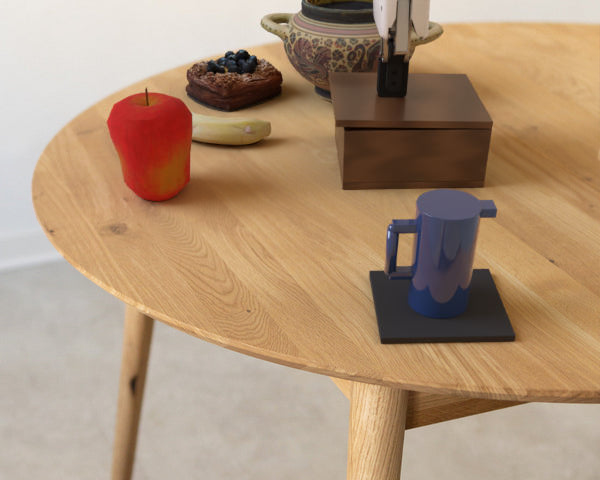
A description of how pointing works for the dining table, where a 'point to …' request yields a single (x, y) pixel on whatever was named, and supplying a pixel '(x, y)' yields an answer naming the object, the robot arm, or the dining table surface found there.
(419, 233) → the jug
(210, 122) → the fruit
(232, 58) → the pastry
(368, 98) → the chest lid
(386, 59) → the robot arm
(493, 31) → the dining table surface
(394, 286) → the trivet
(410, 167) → the chest
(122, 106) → the apple
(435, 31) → the ceramic bowl
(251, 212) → the dining table surface
